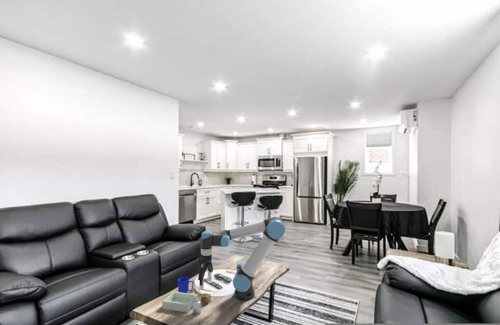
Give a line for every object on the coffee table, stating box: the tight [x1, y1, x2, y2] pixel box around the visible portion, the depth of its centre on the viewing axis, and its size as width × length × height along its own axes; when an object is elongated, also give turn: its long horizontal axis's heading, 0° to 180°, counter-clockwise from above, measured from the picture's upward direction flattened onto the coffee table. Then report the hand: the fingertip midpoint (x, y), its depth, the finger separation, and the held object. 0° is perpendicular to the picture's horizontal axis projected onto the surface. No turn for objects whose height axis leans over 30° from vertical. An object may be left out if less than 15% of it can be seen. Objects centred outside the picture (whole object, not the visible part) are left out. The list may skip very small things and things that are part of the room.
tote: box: [162, 291, 198, 313], centre depth 176 cm, size 18×14×5 cm
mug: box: [177, 276, 194, 293], centre depth 194 cm, size 8×12×10 cm
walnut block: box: [200, 292, 212, 305], centre depth 180 cm, size 5×5×5 cm
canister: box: [192, 299, 202, 316], centre depth 166 cm, size 5×5×7 cm
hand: (205, 285), depth 180 cm, fingers open, 13 cm apart
